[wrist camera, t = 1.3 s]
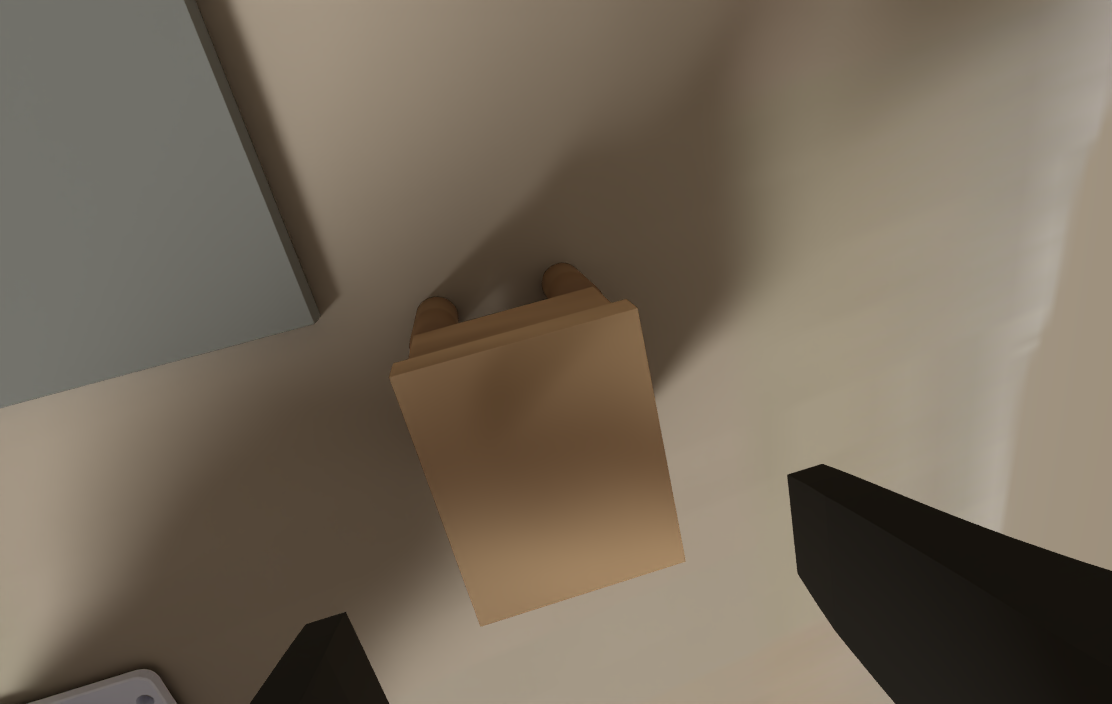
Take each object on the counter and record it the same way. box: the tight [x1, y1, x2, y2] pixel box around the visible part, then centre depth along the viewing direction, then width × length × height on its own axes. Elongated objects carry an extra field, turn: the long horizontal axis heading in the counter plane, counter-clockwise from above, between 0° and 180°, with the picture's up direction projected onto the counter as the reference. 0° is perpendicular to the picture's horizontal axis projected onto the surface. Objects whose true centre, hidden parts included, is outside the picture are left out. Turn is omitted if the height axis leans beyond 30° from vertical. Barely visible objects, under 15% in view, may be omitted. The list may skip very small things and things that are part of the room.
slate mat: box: [0, 0, 321, 408], centre depth 14 cm, size 9×12×1 cm
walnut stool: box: [389, 263, 685, 626], centre depth 15 cm, size 6×5×6 cm
